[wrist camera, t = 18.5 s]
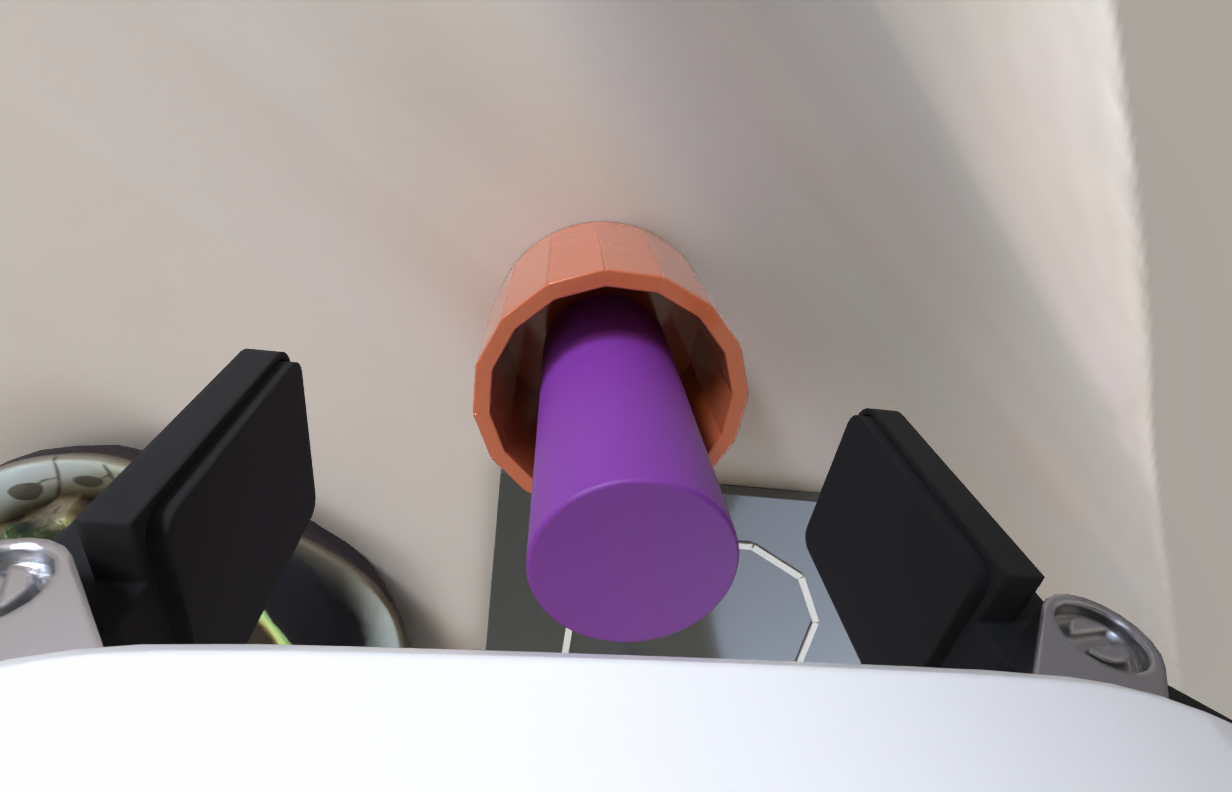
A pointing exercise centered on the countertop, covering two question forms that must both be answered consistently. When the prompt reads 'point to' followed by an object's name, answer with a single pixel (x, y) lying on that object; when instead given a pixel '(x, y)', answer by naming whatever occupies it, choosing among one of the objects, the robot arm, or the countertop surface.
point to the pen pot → (589, 268)
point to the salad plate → (304, 597)
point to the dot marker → (622, 483)
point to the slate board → (735, 629)
